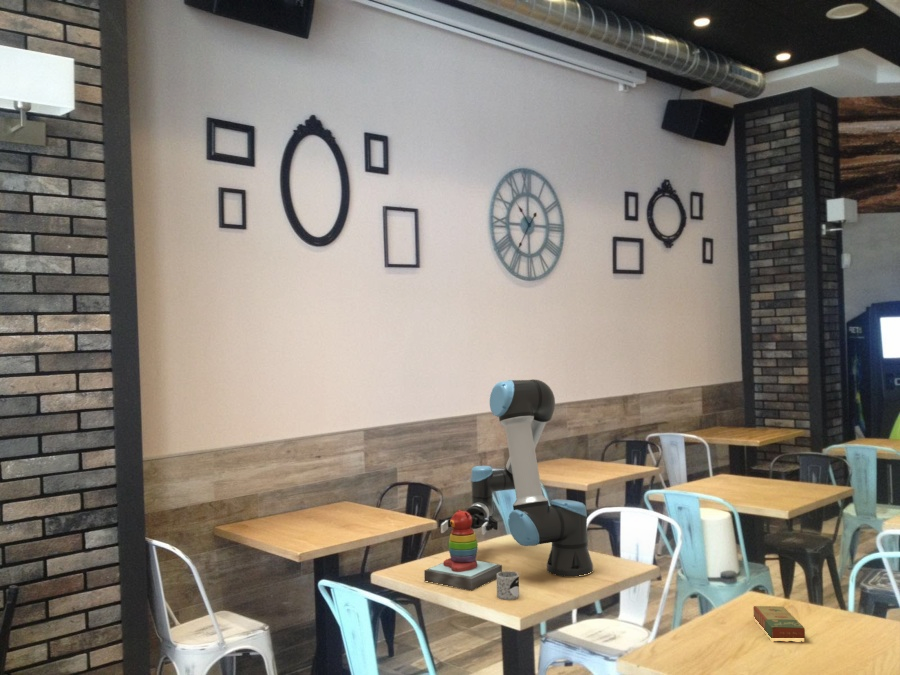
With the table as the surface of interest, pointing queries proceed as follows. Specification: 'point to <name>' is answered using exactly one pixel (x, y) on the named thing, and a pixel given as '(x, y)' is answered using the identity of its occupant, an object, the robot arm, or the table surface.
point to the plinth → (463, 575)
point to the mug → (507, 585)
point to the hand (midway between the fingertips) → (462, 529)
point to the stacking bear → (462, 543)
